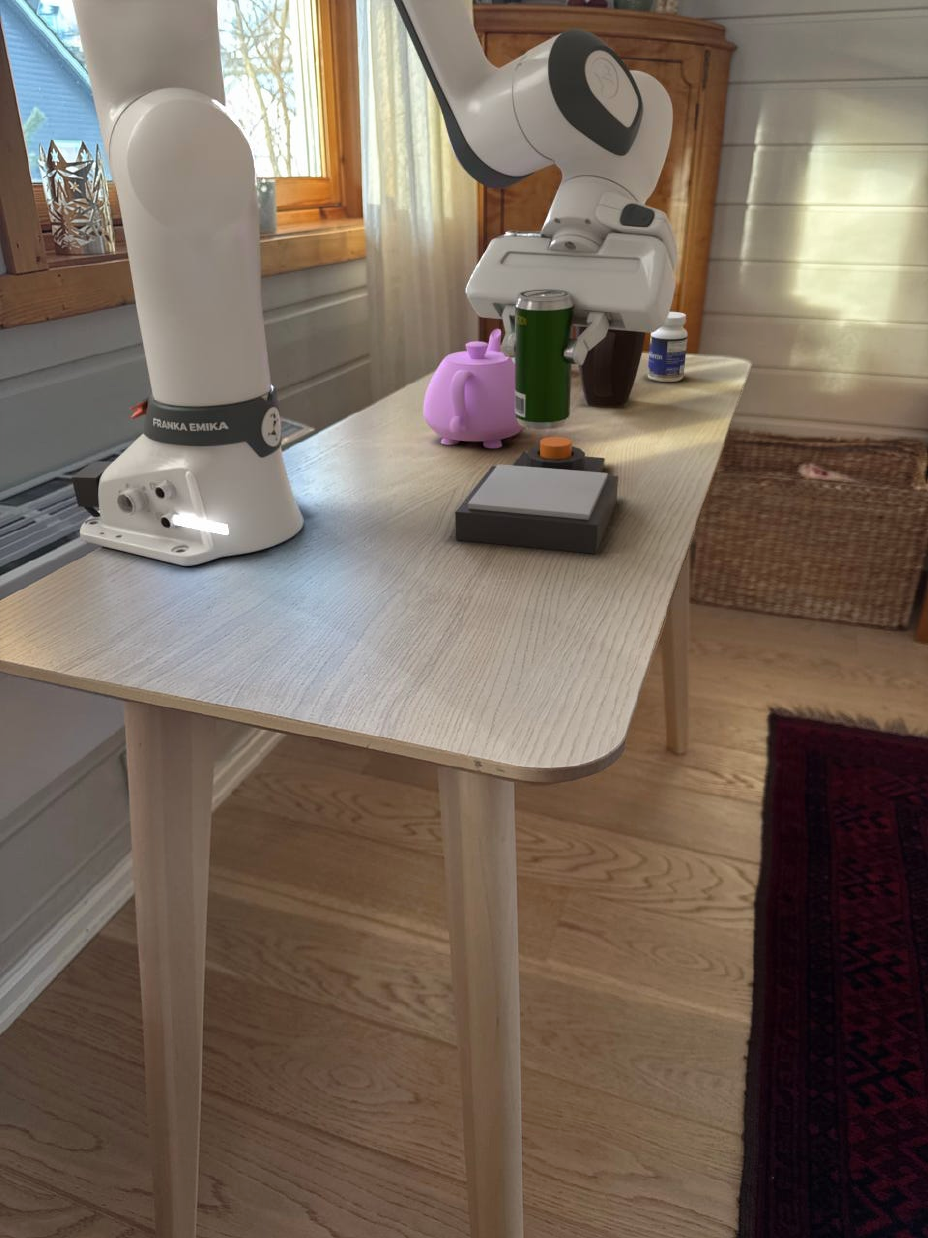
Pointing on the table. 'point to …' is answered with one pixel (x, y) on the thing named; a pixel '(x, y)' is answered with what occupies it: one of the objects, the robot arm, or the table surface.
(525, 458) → the box
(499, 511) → the scale
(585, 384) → the mug
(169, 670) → the table surface
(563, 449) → the tare button
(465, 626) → the table surface
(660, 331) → the pill bottle
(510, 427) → the teapot
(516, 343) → the beer can
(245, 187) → the robot arm
